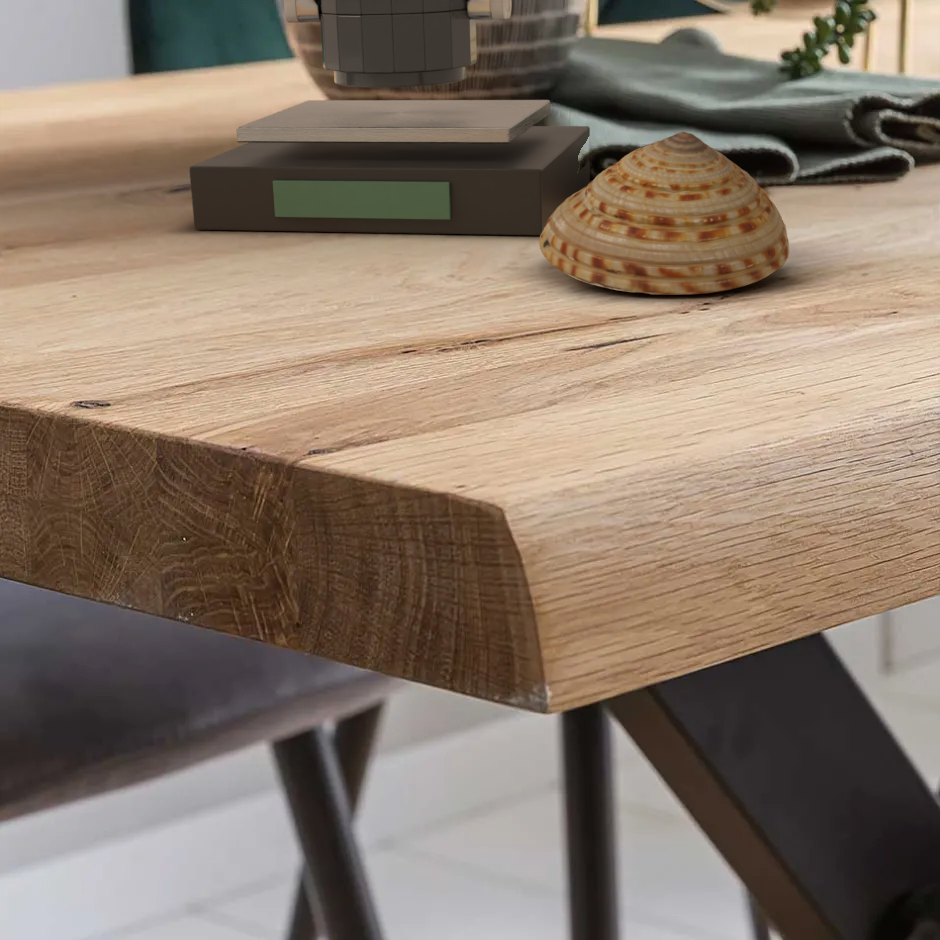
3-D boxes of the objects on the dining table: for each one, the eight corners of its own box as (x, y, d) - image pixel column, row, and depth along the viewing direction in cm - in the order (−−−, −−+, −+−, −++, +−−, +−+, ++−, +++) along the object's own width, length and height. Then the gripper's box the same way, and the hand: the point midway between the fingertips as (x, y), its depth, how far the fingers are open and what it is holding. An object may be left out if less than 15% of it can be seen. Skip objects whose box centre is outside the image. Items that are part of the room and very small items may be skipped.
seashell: (733, 172, 58) (808, 109, 50) (747, 324, 58) (825, 284, 50) (514, 183, 57) (555, 120, 49) (527, 338, 57) (571, 300, 49)
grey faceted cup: (304, 89, 62) (296, -44, 61) (350, 73, 68) (343, -49, 66) (456, 88, 61) (452, -48, 59) (490, 72, 67) (487, -53, 65)
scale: (191, 230, 62) (186, 167, 61) (292, 180, 73) (288, 125, 72) (541, 236, 59) (540, 170, 58) (590, 182, 70) (589, 125, 69)
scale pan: (236, 142, 62) (235, 127, 62) (308, 113, 70) (307, 100, 70) (509, 143, 60) (509, 127, 60) (550, 113, 68) (550, 99, 68)
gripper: (666, -368, 60) (662, 11, 64) (164, -334, 64) (194, 18, 69) (647, -396, 54) (644, 22, 59) (96, -356, 58) (134, 29, 63)
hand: (397, 20), depth 64 cm, fingers closed on grey faceted cup, 6 cm apart
